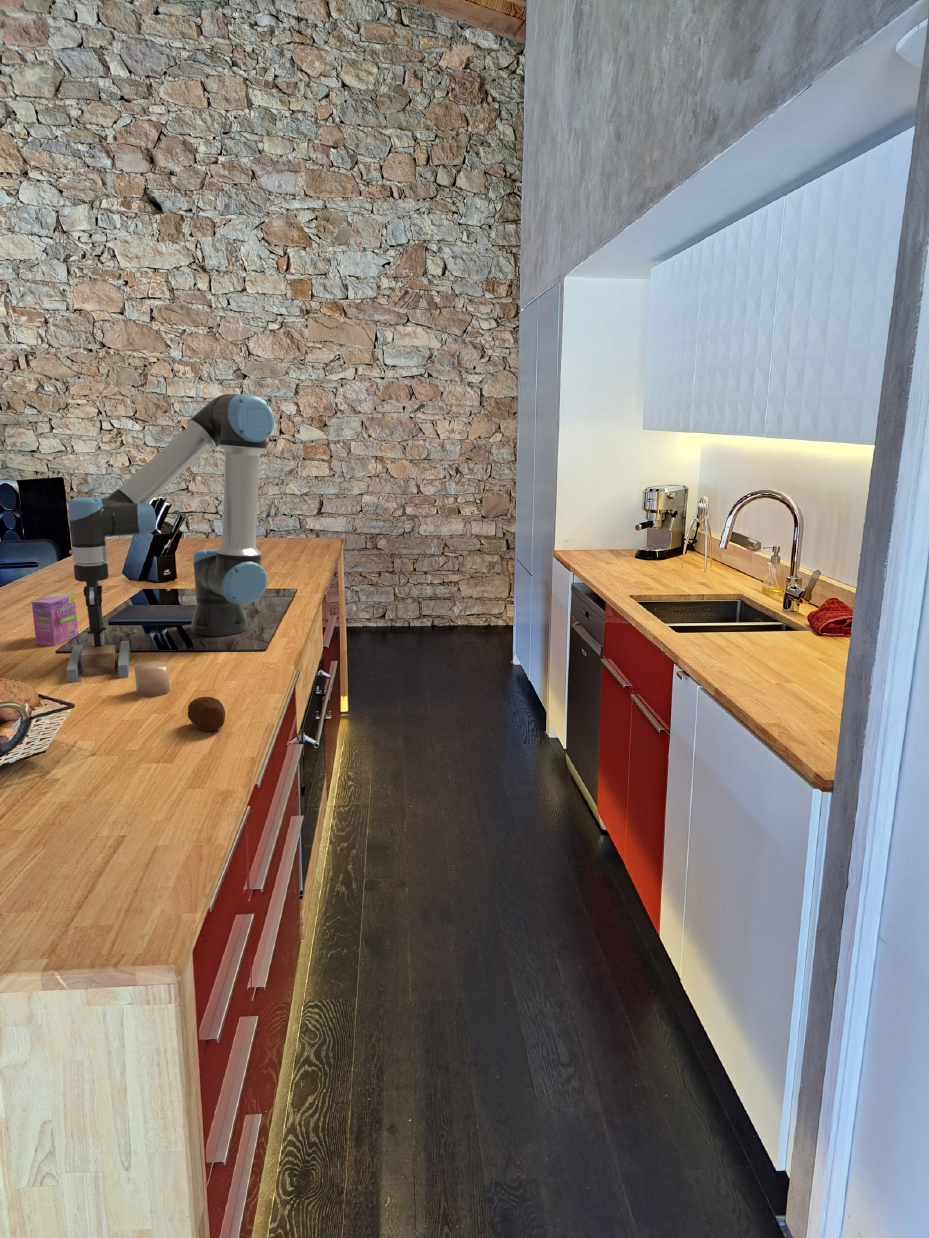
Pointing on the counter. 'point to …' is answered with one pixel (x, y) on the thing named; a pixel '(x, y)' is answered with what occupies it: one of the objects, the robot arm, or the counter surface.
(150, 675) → the marshmallow
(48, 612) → the box
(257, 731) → the counter surface
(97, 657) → the block
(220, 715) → the potato
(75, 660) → the chute
